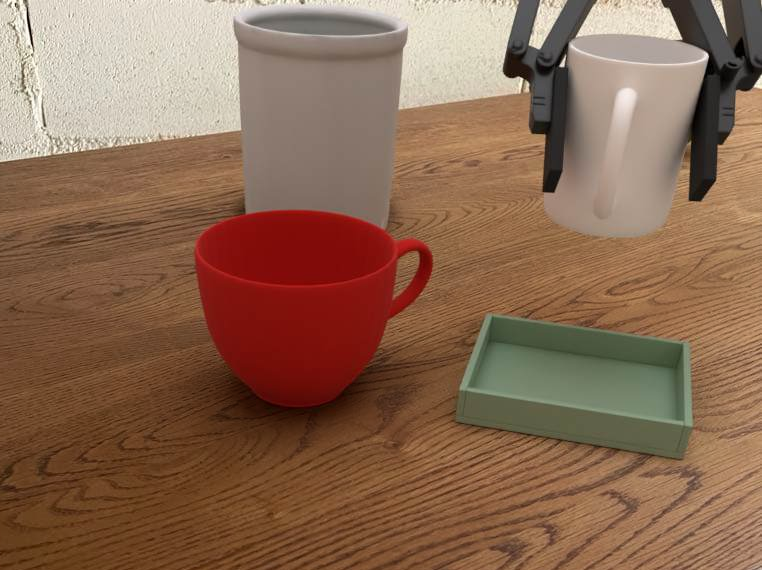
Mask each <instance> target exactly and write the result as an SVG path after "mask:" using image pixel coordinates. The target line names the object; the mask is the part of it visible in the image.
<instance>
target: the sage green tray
mask: <svg viewBox="0 0 762 570" xmlns="http://www.w3.org/2000/svg"><path fill="white" fill-rule="evenodd" d="M691 359H692V358H691V342H690V341H684V340H677V339H670V338H663V337H657V336H649V335H642V334H635V333H629V332H621V331H615V330H610V329H609V330H608V329H603V328H602V329H600V328H594V327H588V326H587V327H586V326H582V325H581V326H580V325H574V324H566V323H560V322H559V323H558V322H553V321H545V320H538V319H531V318H524V317H517V316H511V315H503V314H496V313H490V312H486V313H485V316H484V319H483V323H482V326H481V327H480V330H479V333H478V336H477V338H476V341H475V343H474V347H473V349H472V351H471V355H470V358H469V360H468V363H467V366H466V368H465V371H464V374H463V377H462V379H461V381H460V385H459V387H458V392H457V401H456V407H455V408H456V409H455V418H454V419H455V420H454V422H455V423H460V424H465V425H472V426H476V427H477V426H478V427H483V428H490V429H496V430H503V431H508V432H512V433H513V432H514V433H520V434H527V435H532V436H538V437H545V438H550V439H556V440H561V441H569V442H574V443H579V444H580V443H581V444H586V445H592V446H598V447H603V448H604V447H605V448H610V449H617V450H623V451H628V452H635V453H640V454H645V455H646V454H647V455H653V456H658V457H665V458H669V459H670V458H671V459H677V460H684V457H685V453H686V451H687V447H688V444H689V441H690V437H691V434H692V431H693V427H694V425H693V424H694V423H693V422H694V421H693V420H694V419H693V395H692V394H693V393H692V392H693V390H692V389H693V388H692V365H691V363H692V360H691Z"/></svg>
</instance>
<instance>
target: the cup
mask: <svg viewBox="0 0 762 570" xmlns="http://www.w3.org/2000/svg"><path fill="white" fill-rule="evenodd" d="M674 40H675V39H668V38H663V37H657V36H651V35H641V34H640V35H639V34H628V33H627V34H626V33H599V34H598V33H597V34H587V35H580V36H576V37H575V38H574V39H572V40H571V41H569V43H568V46H567V53H566V55H565V58H564V59H565V60H564V66H563V67H569V71H568V88H567V105H566V122H565V140H564V157H563V172H562V174H561V177H560V180H559V182H558V185H557V187H556V190H555V193H544V192H543V197H542V198H543V199H542V200H543V201H542V203H543V204H542V205H543V210H544V212H545V214H546V216H547V217H548V219H550V221H552V222H553V223H555V224H556V225H559V226H560V227H561V228H565V229H567V230H570V231H572V232H576V233H580V234H583V235H589V236H592V237H593V236H594V237H600V238H607V239H632V238H640V237H645V236H649V235H652V234H654V233H656V232H658V231H659V230H660V229H661V228H662V227H663V226H664V224H665V223H666V222H667V220H668V218H669V215H670V212H671V209H672V205H673V202H674V198H675V193H676V189H677V185H678V182H679V178H680V174H681V169H682V165H683V161H684V157H685V153H686V149H687V146H688V144H687V142H688V138H689V134H690V130H691V126H692V122H693V118H694V114H695V110H696V106H697V102H698V98H699V94H700V90H701V86H702V82H703V78H704V74H705V70H706V66H707V62H708V58H709V56H708V53H707V52H706V51H704V50H702V49H700V48H698V47H696V46H693V45H690V44H687V43H683V42H679V41H674Z"/></svg>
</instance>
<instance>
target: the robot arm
mask: <svg viewBox="0 0 762 570" xmlns="http://www.w3.org/2000/svg"><path fill="white" fill-rule="evenodd" d="M720 1H721V6H722V12H723V18H724V24H725V29H724V26H723V24H722V22H721V20H720V17H719V15H718V12H717V10H716V7H715V6H714V3H713V1H712V0H660V2H661V5H662V6H663V8H665V9H668V11H669V12H670V14H671V16H672V19H673V21H674V23H675V26H676V28H677V30H678V33H679V35H680V38H681V40H683V42H684V43H687V44H690V45H693V46H696V47H698V48H700V49H702V50H704V51H706V52H707V53H708V56H709V58H708V62H707V66H706V70H705V74H704V78H703V82H702V86H701V90H700V94H699V98H698V102H697V106H696V110H695V114H694V118H693V122H692V128H691V141H690V155H689V177H688V202H697V203H698V202H699V203H701V202H702V201H703V199H704V198H705V197H706V195H707V194H708V193H709V191H710V190H711V188H712V187H713V186H714V184H715V183H716V182H717V175H718V155H719V153H718V151H719V146H723V145H724V143H725V142H726V140H728V138H729V137H730V135H731V134H732V131H733V129H734V127H735V126H736V125H735V123H736V122H735V121H736V117H735V116H736V99H737V97H736V94H737V92H738V91H741V92H743V93H745V92H746V93H747V92H750V91H751V90H752V89H754V87H755V86H756V84H757V82H758V81H759V80H760V78H761V76H762V0H720ZM597 2H598V0H566V2H565V4H564V5H563V7H562V9H561V11H560V13H559V15H558V16H557V18H556V20H555V22H554V23H553V25H552V27H551V28H550V29H549V30H550V31H549V32H548V34H547V35H546V37H545V39H544V40H543V43H542V45H541V46H540V48H537V47H534V46H532V45H530V41H531V37H532V33H533V30H534V26H535V22H536V19H537V15H538V12H539V8H540V4H541V0H518V4H517V7H516V11H515V15H514V18H513V21H512V25H511V30H510V32H509V37H508V39H507V45H506V50H505V54H504V58H503V63H502V74H503V76H505V77H506V78H508V79H516V78H521V79H523V80H525V81H526V82H527V83H528V84H529V85H528V90H529V93H530V100H529V113H528V114H529V117H528V128H529V131H530V134H531V135H544V136H545V137H544V152H543V153H544V154H543V155H544V156H543V171H542V188H541V190H542V191H541V193H543V194H544V193H555V190H556V187H557V185H558V182H559V180H560V177H561V174H562V172H563V157H564V140H565V122H566V105H567V88H568V71H569V67H564V66H561V65H562V62H564V59H565V58H566V53H567V46H568V43H569V41H571V40H572V39H574V38H576V37H578V34H579V32H580V30H581V28H582V27H583V25H584V23H585V21H586V20H587V18H588V16H589V14H590V13H591V11H592V9H593V7H594V5H596V4H597ZM725 30H726V31H725Z"/></svg>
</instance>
